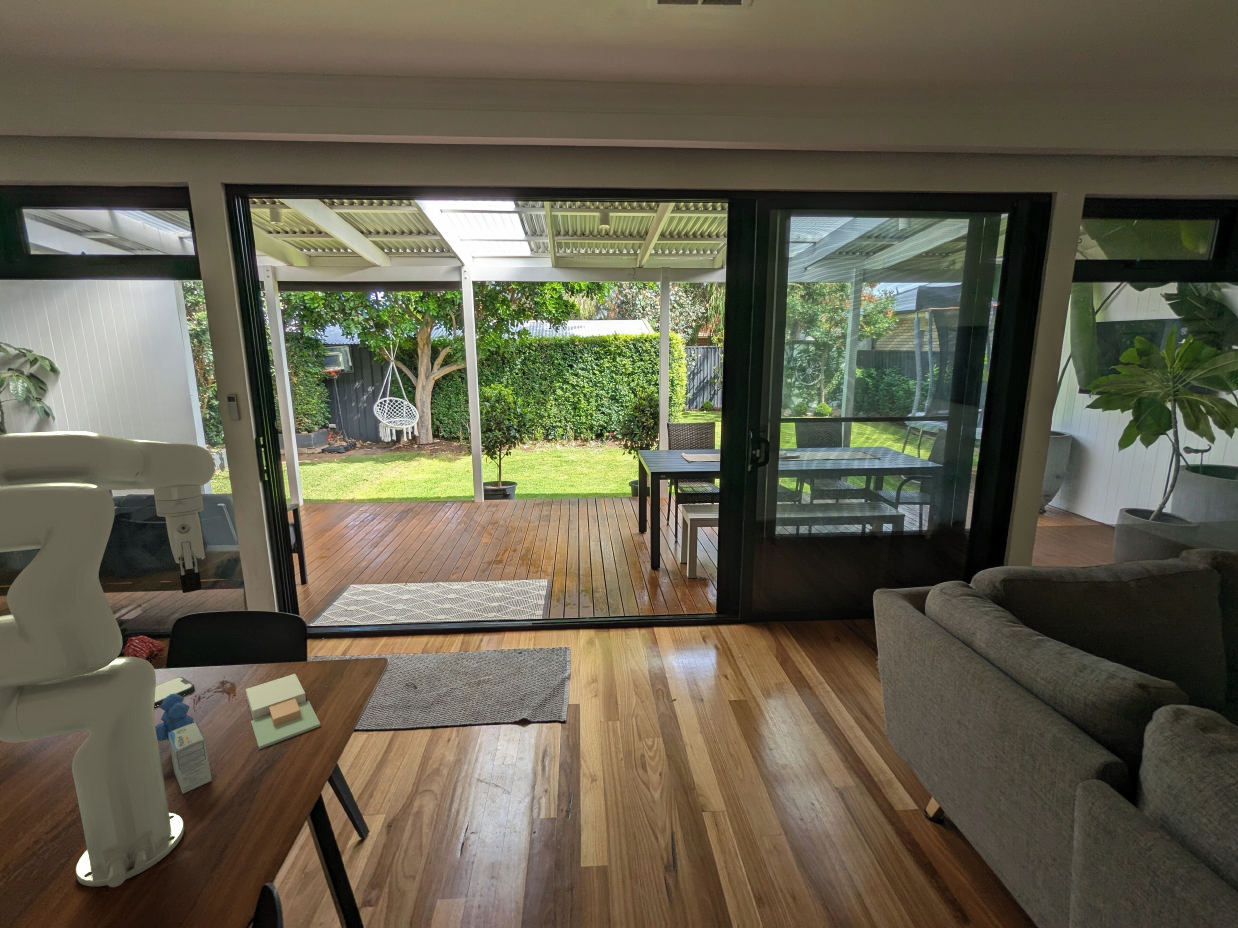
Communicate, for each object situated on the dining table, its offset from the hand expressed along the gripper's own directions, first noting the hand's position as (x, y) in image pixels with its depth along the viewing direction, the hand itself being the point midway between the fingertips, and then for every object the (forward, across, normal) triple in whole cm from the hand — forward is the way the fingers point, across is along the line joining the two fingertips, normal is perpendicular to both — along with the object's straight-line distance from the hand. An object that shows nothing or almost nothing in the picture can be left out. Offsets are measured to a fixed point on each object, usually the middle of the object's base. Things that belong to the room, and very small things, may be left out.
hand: (192, 590), depth 114 cm
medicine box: (+29, -21, +4) cm, 36 cm away
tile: (+28, -12, -12) cm, 33 cm away
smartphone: (+30, +17, +10) cm, 36 cm away
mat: (+29, -14, -12) cm, 35 cm away
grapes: (+29, -11, +6) cm, 32 cm away
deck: (+29, -3, -12) cm, 32 cm away
